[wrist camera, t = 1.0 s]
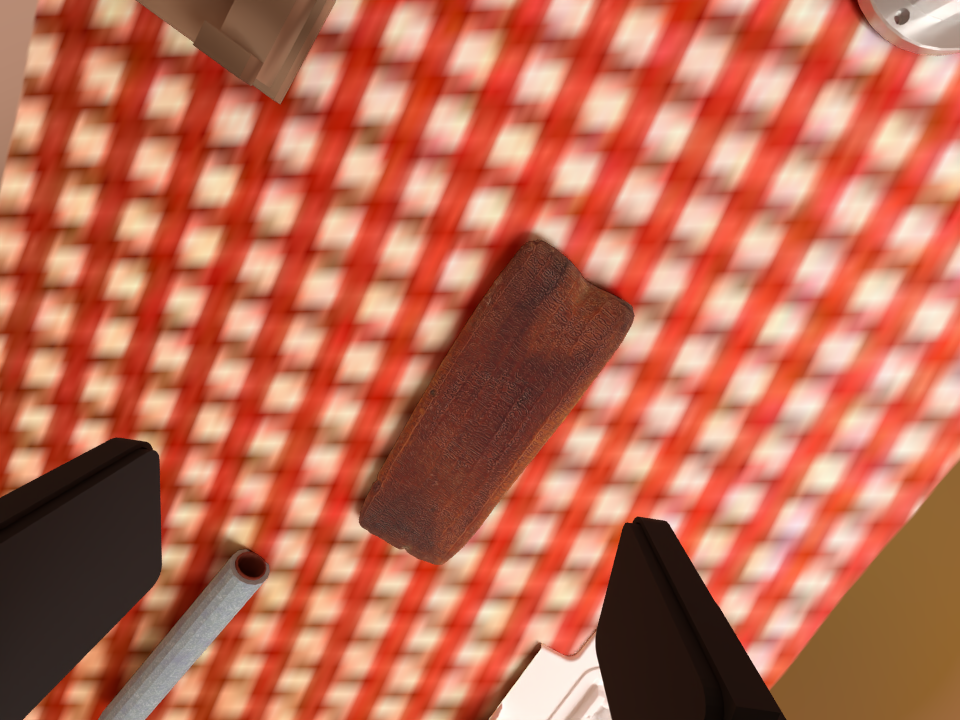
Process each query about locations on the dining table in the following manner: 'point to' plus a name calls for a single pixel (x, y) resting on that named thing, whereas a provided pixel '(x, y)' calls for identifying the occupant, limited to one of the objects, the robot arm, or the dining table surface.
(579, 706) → the tray
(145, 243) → the dining table surface
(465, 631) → the dining table surface
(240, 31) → the rack
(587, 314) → the wooden tablet
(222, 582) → the grey tube
